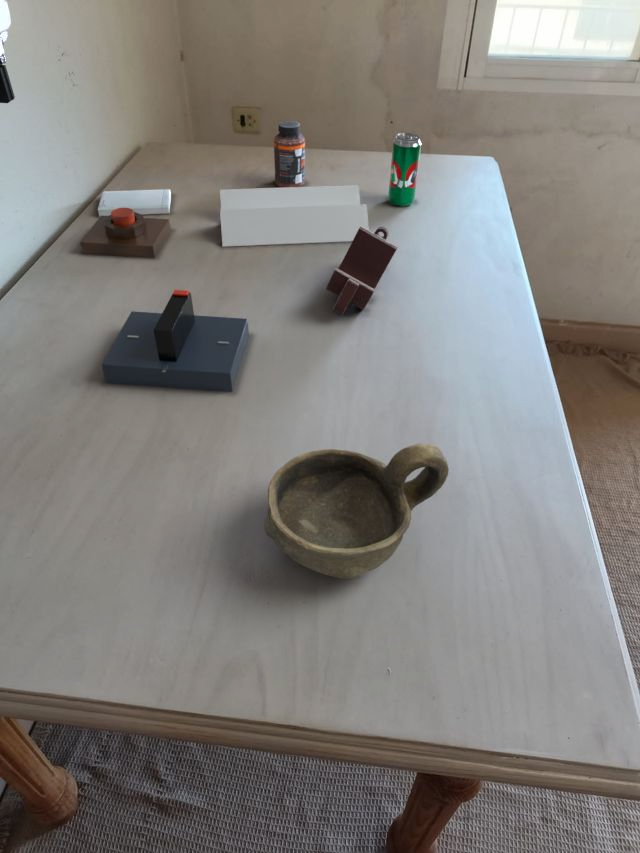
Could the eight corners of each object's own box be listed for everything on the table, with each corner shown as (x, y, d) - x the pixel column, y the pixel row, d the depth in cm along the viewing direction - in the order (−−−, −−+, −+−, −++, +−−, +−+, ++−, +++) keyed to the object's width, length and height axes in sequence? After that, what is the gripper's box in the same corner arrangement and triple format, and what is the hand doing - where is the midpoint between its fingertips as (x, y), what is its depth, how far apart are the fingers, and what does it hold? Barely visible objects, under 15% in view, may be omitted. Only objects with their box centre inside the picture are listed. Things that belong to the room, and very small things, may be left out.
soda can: (414, 197, 121) (422, 132, 113) (413, 209, 117) (421, 142, 109) (388, 196, 122) (394, 130, 113) (386, 206, 118) (392, 140, 110)
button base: (83, 254, 103) (77, 231, 100) (103, 227, 110) (98, 205, 107) (154, 258, 102) (150, 235, 99) (171, 231, 109) (167, 208, 107)
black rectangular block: (176, 361, 77) (171, 329, 74) (159, 360, 77) (152, 328, 74) (195, 321, 84) (190, 289, 80) (178, 320, 84) (173, 288, 80)
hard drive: (97, 209, 112) (168, 205, 113) (102, 190, 118) (169, 187, 119) (99, 218, 113) (169, 214, 114) (104, 199, 119) (171, 196, 120)
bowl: (254, 496, 65) (248, 426, 59) (412, 468, 69) (423, 399, 62) (280, 611, 56) (276, 544, 49) (462, 572, 59) (483, 504, 52)
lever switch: (104, 386, 78) (98, 366, 76) (136, 327, 88) (132, 307, 86) (231, 395, 77) (229, 375, 75) (249, 334, 87) (248, 315, 85)
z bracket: (363, 251, 114) (369, 240, 107) (224, 257, 111) (222, 246, 105) (358, 185, 114) (364, 170, 108) (220, 190, 112) (217, 175, 105)
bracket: (316, 303, 88) (349, 240, 82) (341, 269, 102) (370, 213, 96) (355, 325, 88) (389, 263, 82) (374, 287, 102) (404, 233, 97)
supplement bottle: (307, 188, 123) (308, 128, 116) (278, 191, 122) (276, 130, 115) (301, 177, 128) (301, 117, 120) (272, 179, 127) (270, 119, 119)
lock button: (110, 226, 102) (107, 216, 101) (117, 217, 105) (115, 206, 104) (131, 227, 102) (129, 217, 101) (138, 218, 105) (136, 208, 104)
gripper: (-53, -89, 74) (-1, 83, 86) (-131, -77, 63) (-59, 118, 75) (9, -87, 73) (52, 85, 86) (-59, -75, 62) (2, 121, 75)
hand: (0, 100), depth 81 cm, fingers closed
